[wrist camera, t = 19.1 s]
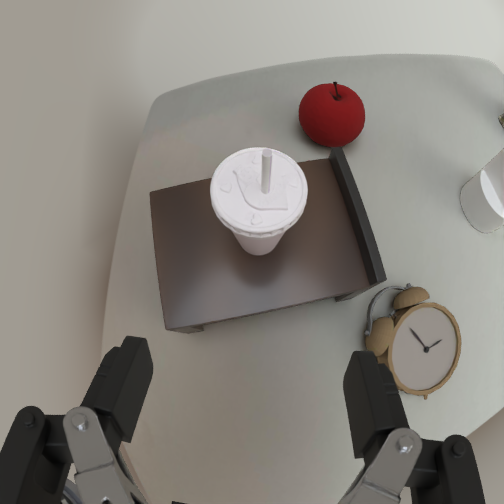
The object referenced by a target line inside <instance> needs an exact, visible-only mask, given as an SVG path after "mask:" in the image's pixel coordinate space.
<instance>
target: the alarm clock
mask: <svg viewBox="0 0 504 504" xmlns="http://www.w3.org/2000/svg"><path fill="white" fill-rule="evenodd" d="M407 288H408V289H407ZM389 289H397V290H403V289H405V290H403V291H402V292H400V293H399V294H398V295H397V296H396V297H395V299H394V309H399V310H398V311H397V312H396V313H395V311H394V310H393V311H392V312H391V313H390V316H391V317H390V318H388V317H381V318H378V319H376V320H375V321H374V322H373V323H372V311H373V307H374V305H375V303H376V301H377V299H378V298H379V297H380V296H381V295H382V294H383V293H384V292H385V291H387V290H389ZM428 298H429V294H428V292H427V291H426V290H425V289H423V288H421V287H413V286H411V285H410V283H408V284H407V285H406V288H404V287H399V286H391V287H388V288H384V289H383V290H381V291H379V292H378V293H377V294H376V295H375V296H374V298H373V299H372V300H371V302H370V304H369V307H368V311H367V320H368V326H367V330H366V331H365V332H364V333H365V335H366V339H365V344H366V348H367V350H368V351H373V352H374V354H375V356H376V357H377V360H378V364H380V363H385V365H386V366H387V367H388V368H389V369H390V371H391V372H392V373H393V376H394V379H395V382H396V386H397V389H398V390H402V391H405V392H406V393H410V394H414V395H423V396H424V399H425V400H426V399H427V396H428V394H430V393H432V392H434V391H435V390H437V389H439V388H441V387H442V386H443V385H444V384H445V383H446V382H447V381H448V380H449V379H450V377H451V375H452V374H453V372H454V370H455V368H456V366H457V363H458V360H459V356H460V353H461V335H460V330H459V326H458V324H457V322H456V320H455V318H454V316H453V315H452V314H451V313H450V312H449V311H448V310H447V309H446V308H445V307H444V306H441V305H439V304H437V303H421V304H416V303H419V302H422V301H424V300H426V299H428ZM414 304H415V305H414ZM400 308H401V309H400ZM394 313H395V314H394Z"/></svg>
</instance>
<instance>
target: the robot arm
mask: <svg viewBox="0 0 504 504" xmlns="http://www.w3.org/2000/svg"><path fill="white" fill-rule="evenodd" d="M152 375H153V362H152V358H151V355H150V351H149V347H148V343H147V340H146V339H145V338H140V337H133V336H126V337H125V339H124V341H123V343H122V345H121V347H113V348H112V349H111V350H110V351H109V352H108V353H107V354H106V355H105V356H104V358H103V360H102V362H101V364H100V367H99V368H98V370H97V372H96V375H95V376H94V379H93V381H92V383H91V385H90V387H89V389H88V391H87V393H86V395H85V397H84V400H83V402H82V404H81V405H80V406H79V407H76V408H73V409H71V410H70V411H69V412H67V414H66V415H44V413H43V412H42V411H41V410H40V409H39V408H38V407H35V406H27V407H25V408H23V409H21V410H20V411H19V412H18V414H17V415H16V417H15V420H14V422H13V424H12V426H11V429H10V431H9V433H8V435H7V438H6V440H5V443H4V445H3V447H2V450H1V452H0V504H77V503H76V501H75V500H74V499H73V498H72V497H71V496H70V495H69V494H68V493H67V492H66V491H65V490H64V487H65V483H66V480H67V476H68V473H69V470H70V466H71V463H74V464H75V467H76V471H77V473H76V474H75V475H74V479H75V483H76V485H77V488H78V491H79V494H80V496H81V499H82V501H83V504H148V503H147V501H146V499H145V498H144V496H143V495H142V493H141V492H140V490H139V489H138V487H137V485H136V484H135V482H134V480H133V478H132V476H131V473H130V472H129V469H128V468H127V465H126V463H125V461H124V459H123V457H122V454H121V452H120V450H119V447H120V444H121V441H124V442H128V443H131V440H132V436H133V433H134V430H135V427H136V424H137V421H138V418H139V415H140V412H141V409H142V406H143V403H144V400H145V397H146V394H147V391H148V388H149V385H150V382H151V379H152ZM343 390H344V396H345V401H346V407H347V413H348V418H349V424H350V430H351V437H352V443H353V450H354V456H355V459H357V458H364V462H365V465H364V466H363V468H362V469H361V471H360V472H359V474H358V475H357V477H356V478H355V480H354V481H353V483H352V484H351V486H350V487H349V489H348V490H347V491H346V493H345V494H344V496H343V497H342V498H341V500H340V501H339V502H338V503H337V504H399V503H400V500H401V498H400V493H401V491H402V489H403V487H404V486H406V487H410V489H411V497H412V504H485V499H484V494H483V489H482V485H481V480H480V476H479V472H478V468H477V464H476V460H475V456H474V453H473V449H472V446H471V443H470V442H469V440H468V439H467V438H465V437H464V436H461V435H451V436H449V437H448V438H446V439H445V441H444V442H443V441H434V440H426V439H423V438H420V436H419V435H418V434H417V433H416V432H415V431H414V430H412V429H410V427H409V425H408V421H407V418H406V415H405V411H404V408H403V405H402V401H401V398H400V395H399V394H398V393H399V392H398V389H397V386H396V382H395V379H394V376H393V373H392V372H391V371H390V369H389V368H388V367H387V366H386V365H385V363H380V364H378V363H377V360H376V357H375V354H374V352H373V351H354V352H353V354H352V356H351V359H350V362H349V364H348V367H347V370H346V372H345V375H344V380H343ZM172 504H186V503H180V502H174V501H172Z"/></svg>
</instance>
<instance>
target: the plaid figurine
mask: <svg viewBox="0 0 504 504" xmlns="http://www.w3.org/2000/svg"><path fill="white" fill-rule="evenodd" d="M499 120H500V123H501V124H502V126H503V128H504V114H503V115H500V116H499Z"/></svg>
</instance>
